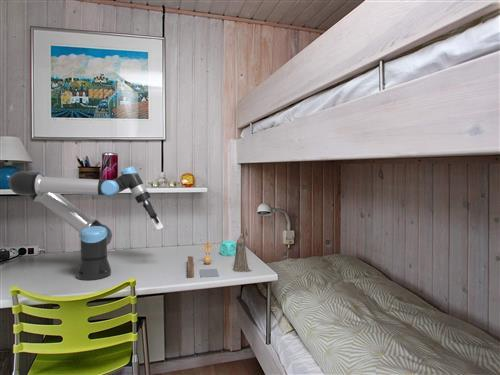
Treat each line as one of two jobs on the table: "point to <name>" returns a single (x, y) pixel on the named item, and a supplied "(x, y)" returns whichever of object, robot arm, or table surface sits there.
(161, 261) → the table surface
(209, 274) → the mat
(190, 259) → the walnut rail
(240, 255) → the wizard figurine
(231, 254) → the decorative dice
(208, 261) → the figurine
